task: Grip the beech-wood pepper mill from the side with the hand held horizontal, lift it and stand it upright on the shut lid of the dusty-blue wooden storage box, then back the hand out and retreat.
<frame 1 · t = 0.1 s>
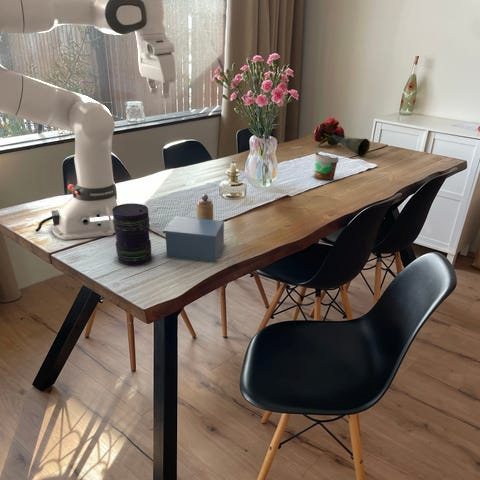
hand: (159, 95, 151), 39 cm above the table, tool pointing down, fingers open, 8 cm apart
red rose bouquet: (340, 149, 264), on the table
pepper mill: (205, 236, 157), on the table
black cylinder: (134, 259, 141), on the table
food container: (320, 178, 216), on the table
storage box: (196, 251, 147), on the table
box lid: (194, 226, 143), point 8 cm above the table, hinge at 0.0°
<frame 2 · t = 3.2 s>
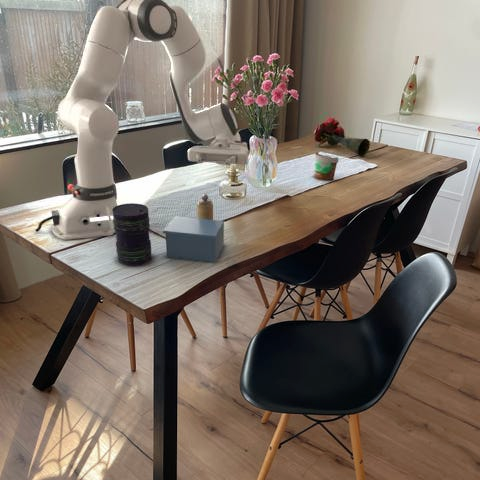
hand: (213, 161, 156), 21 cm above the table, tool horizontal, fingers open, 8 cm apart
nothing on the table moved.
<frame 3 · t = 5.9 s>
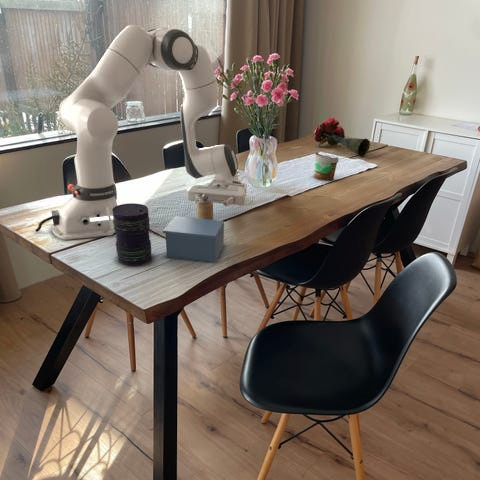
hand: (211, 202, 160), 8 cm above the table, tool horizontal, fingers open, 8 cm apart
nothing on the table moved.
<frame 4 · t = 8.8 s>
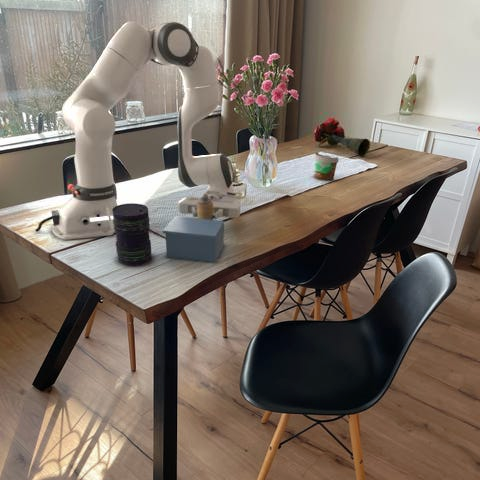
hand: (204, 215, 152), 7 cm above the table, tool horizontal, fingers closed on pepper mill, 5 cm apart
pepper mill: (205, 236, 157), on the table, touching gripper
everything else where it was.
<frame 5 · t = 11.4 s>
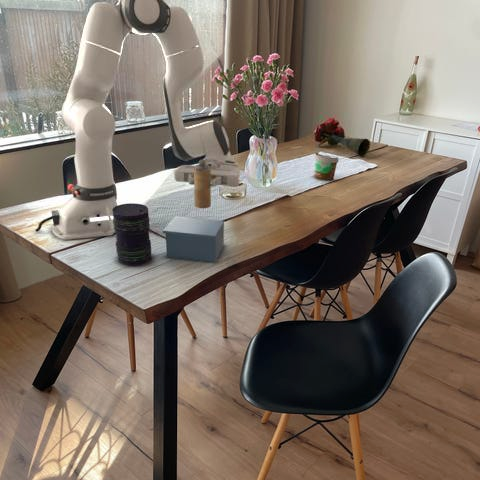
hand: (201, 183, 144), 18 cm above the table, tool horizontal, fingers closed on pepper mill, 5 cm apart
pepper mill: (202, 205, 148), point 11 cm above the table, touching gripper
everything else where it was.
when the fingers open (15 cm above the table, at t = 14.5 s): pepper mill stays where it is, resting on box lid.
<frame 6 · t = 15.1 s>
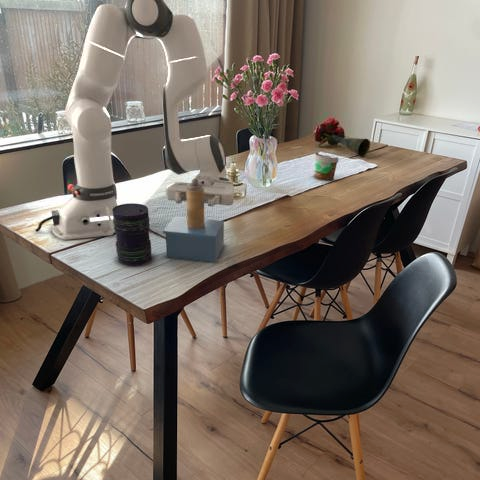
hand: (194, 202, 138), 16 cm above the table, tool horizontal, fingers open, 8 cm apart
pepper mill: (195, 225, 142), point 8 cm above the table, touching box lid
box lid: (194, 227, 143), point 8 cm above the table, hinge at -0.2°, touching pepper mill, storage box
everything else where it was.
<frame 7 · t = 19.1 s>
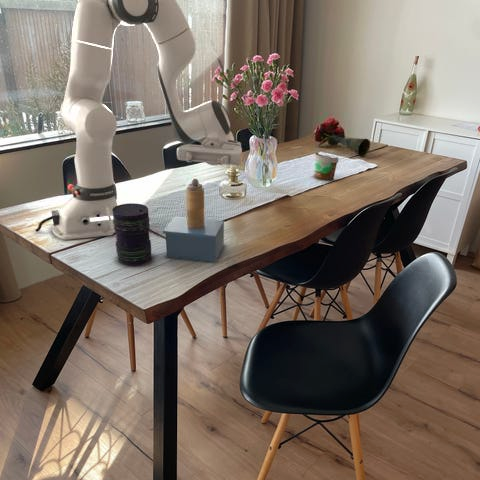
hand: (204, 160, 144), 24 cm above the table, tool horizontal, fingers open, 8 cm apart
nothing on the table moved.
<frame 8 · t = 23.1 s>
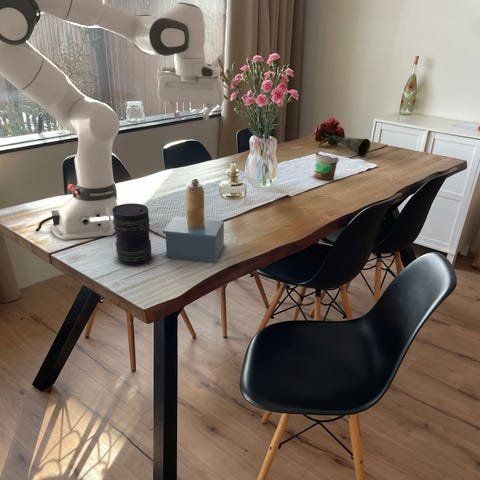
hand: (191, 118, 151), 33 cm above the table, tool pointing down, fingers open, 8 cm apart
nothing on the table moved.
at the end: pepper mill inside the target area on the storage box (0.1 cm from its centre), point 8.1 cm above the storage box's base; pepper mill tilted 0°; box lid at +0° (first picture: +0°) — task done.
